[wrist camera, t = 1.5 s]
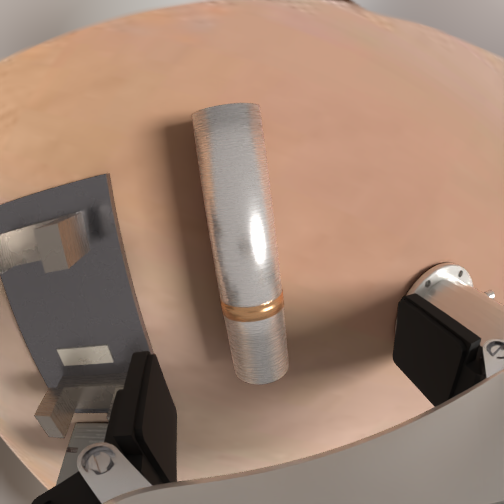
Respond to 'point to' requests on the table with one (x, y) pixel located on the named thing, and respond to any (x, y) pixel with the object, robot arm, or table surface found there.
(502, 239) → the table surface
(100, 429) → the skincare box
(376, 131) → the table surface
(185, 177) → the table surface
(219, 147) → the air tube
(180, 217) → the table surface
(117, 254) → the plate with corner blocks
